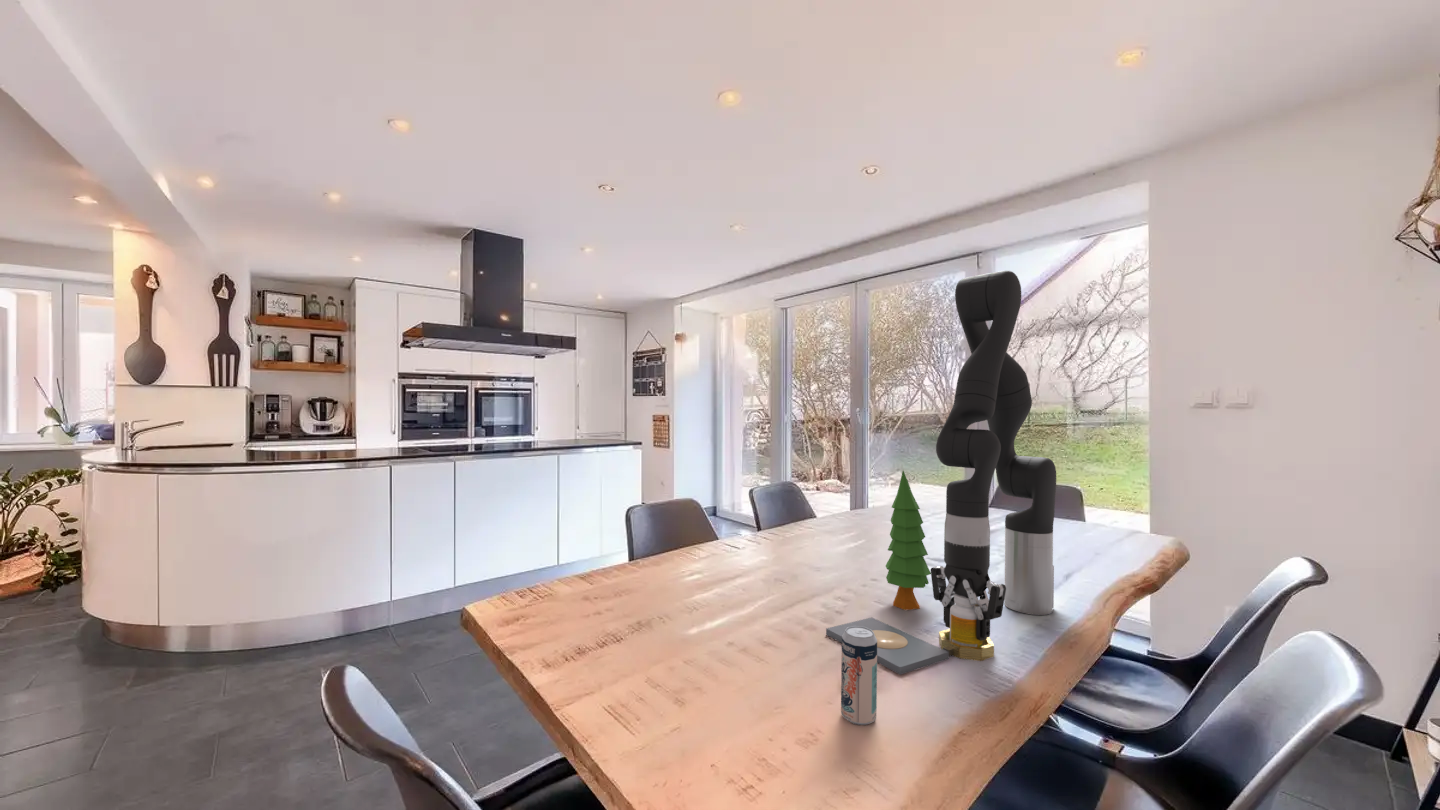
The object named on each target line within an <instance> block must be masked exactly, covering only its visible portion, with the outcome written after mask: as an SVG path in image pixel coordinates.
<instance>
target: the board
mask: <svg viewBox="0 0 1440 810" xmlns="http://www.w3.org/2000/svg"><path fill="white" fill-rule="evenodd" d="M852 626H860V627H865V628H868V629H871V630H872V631H873V632H874V634H875V637H876V639H877V664H880V665H882V666H883V667H885V668H887V669H889V670H891V671H892V672H894V673H896V674H897V675H900V676H901V675H904V674H907V673H910V672H912V671H915V670H918V669H922V668H924V667H928V666H931V665H933V664H937V663H941V662H943V661H946V660H949V658H950V657H949V652H948V651H946V650H943V649H941V647H940V646H937V645H934V644H933V643H930V642H928V641H925V640H923V639H921V638H919V637H917V636H914V635H912V634H910V633H908V632H906V631H903V630H901V629H899V628H896V627H895V626H892V625H890V624H888V623H886V622H884V621H883V622H882V621H881V620H879V619H877V618H874V617H872V616H871V617H868V618H863V619H860V620H854V621H851V622H847V623H843V624H838V625H833V626H830V627H827V628H825V631H826V632H825V635H826V636H827V637H830V638H832V639H833V640H835V641H837V642H839V643H841V644H842V635H843V634H844V632H845V630H846V629H847V627H852Z"/></svg>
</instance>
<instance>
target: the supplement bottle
mask: <svg viewBox="0 0 1440 810" xmlns="http://www.w3.org/2000/svg"><path fill="white" fill-rule="evenodd" d="M977 599H978V600H979V597H977ZM954 602H955V604H954V605H952V606H951V608H950V628H949V629H950V641H951V642H954V643H956V644H958V645H962V646H971V647H981V646H982V641H980V640H978V639H977V638H976V621H977V618H978V617H977V614H976V611H975V608H974V607H973V606H972V605H971V603H970V600H969V598H966V597H965V596H963V595H957V594H954Z"/></svg>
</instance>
